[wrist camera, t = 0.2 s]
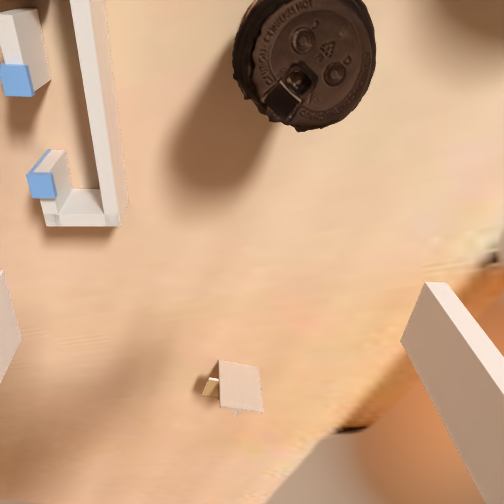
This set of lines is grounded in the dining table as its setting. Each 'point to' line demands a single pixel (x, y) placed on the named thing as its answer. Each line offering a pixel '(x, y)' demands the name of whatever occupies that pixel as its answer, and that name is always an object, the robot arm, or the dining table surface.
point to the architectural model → (236, 387)
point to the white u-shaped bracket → (98, 105)
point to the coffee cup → (305, 59)
